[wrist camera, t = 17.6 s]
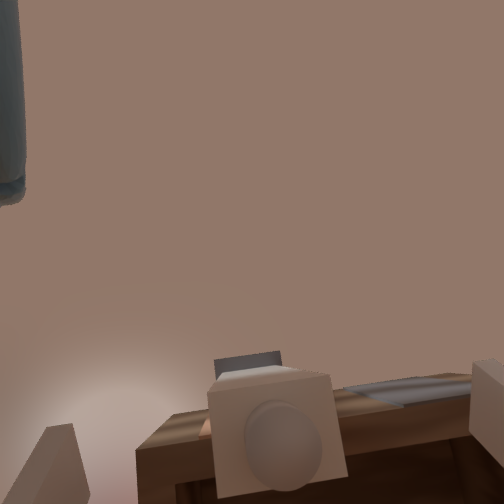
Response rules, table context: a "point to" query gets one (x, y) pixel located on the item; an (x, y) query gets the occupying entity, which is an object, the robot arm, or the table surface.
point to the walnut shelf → (348, 452)
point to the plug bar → (272, 426)
